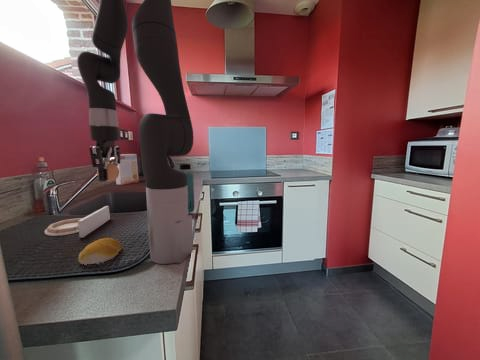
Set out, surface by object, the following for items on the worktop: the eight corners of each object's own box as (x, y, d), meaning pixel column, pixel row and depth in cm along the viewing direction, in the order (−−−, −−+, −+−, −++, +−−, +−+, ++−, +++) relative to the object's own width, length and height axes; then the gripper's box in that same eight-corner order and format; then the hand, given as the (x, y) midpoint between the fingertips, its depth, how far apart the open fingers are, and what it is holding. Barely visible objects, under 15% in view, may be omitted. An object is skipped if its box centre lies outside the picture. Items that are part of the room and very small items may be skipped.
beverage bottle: (182, 211, 88) (180, 162, 85) (197, 212, 86) (196, 163, 83) (174, 216, 81) (172, 164, 78) (190, 217, 80) (189, 164, 77)
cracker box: (133, 181, 160) (131, 153, 157) (139, 182, 158) (137, 154, 154) (115, 184, 148) (113, 154, 145) (121, 185, 145) (118, 154, 142)
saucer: (100, 223, 73) (100, 219, 73) (64, 237, 62) (63, 232, 62) (74, 220, 76) (73, 216, 76) (34, 233, 65) (33, 228, 65)
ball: (124, 180, 71) (122, 162, 70) (108, 183, 65) (106, 163, 64) (109, 179, 72) (108, 161, 71) (93, 182, 67) (91, 163, 66)
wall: (107, 219, 78) (105, 206, 77) (109, 219, 78) (108, 205, 77) (79, 237, 62) (77, 221, 61) (83, 237, 62) (81, 221, 61)
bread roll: (125, 246, 57) (123, 232, 57) (113, 264, 49) (112, 247, 48) (90, 249, 55) (88, 234, 55) (71, 268, 47) (69, 251, 46)
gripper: (103, 127, 73) (107, 176, 75) (76, 122, 58) (82, 183, 61) (126, 127, 73) (130, 176, 76) (105, 123, 59) (110, 183, 62)
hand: (108, 179), depth 69 cm, fingers closed on ball, 6 cm apart
